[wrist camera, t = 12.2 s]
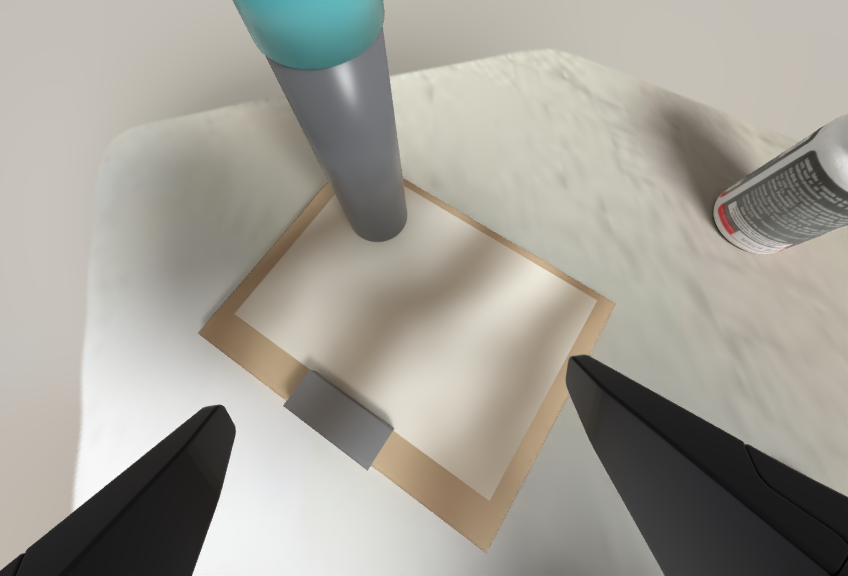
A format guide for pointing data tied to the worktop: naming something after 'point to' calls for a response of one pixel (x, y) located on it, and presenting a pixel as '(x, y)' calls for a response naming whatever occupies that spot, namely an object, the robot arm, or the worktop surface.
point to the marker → (339, 99)
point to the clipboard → (416, 349)
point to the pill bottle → (790, 195)
